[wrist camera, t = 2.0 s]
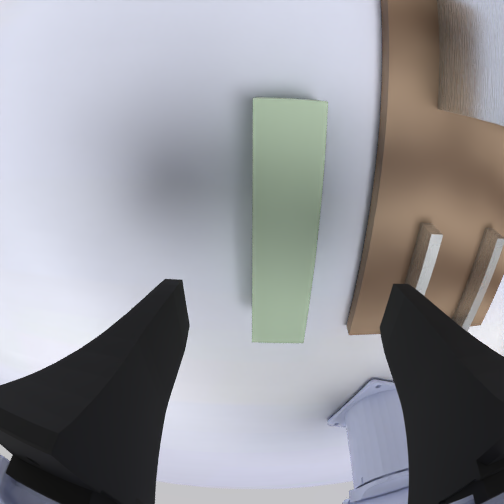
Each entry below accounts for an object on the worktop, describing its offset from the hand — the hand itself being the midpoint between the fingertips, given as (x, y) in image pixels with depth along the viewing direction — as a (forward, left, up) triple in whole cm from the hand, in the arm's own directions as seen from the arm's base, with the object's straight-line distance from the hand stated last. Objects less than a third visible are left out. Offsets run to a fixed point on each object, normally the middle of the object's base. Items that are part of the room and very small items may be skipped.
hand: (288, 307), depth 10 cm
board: (-9, -7, -8) cm, 14 cm away
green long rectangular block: (0, 0, -8) cm, 8 cm away
